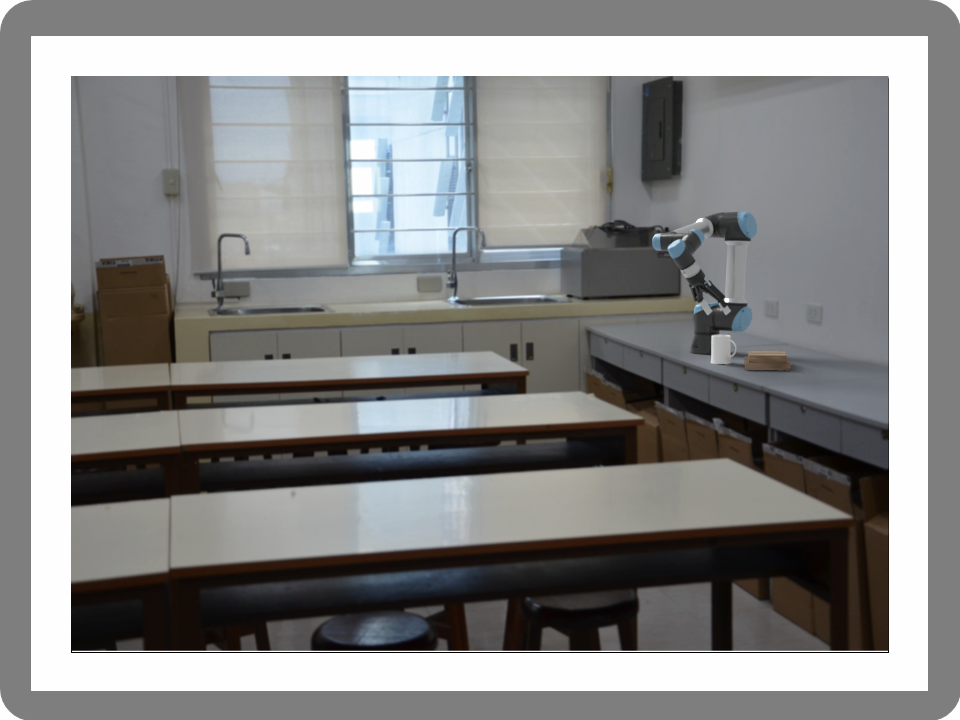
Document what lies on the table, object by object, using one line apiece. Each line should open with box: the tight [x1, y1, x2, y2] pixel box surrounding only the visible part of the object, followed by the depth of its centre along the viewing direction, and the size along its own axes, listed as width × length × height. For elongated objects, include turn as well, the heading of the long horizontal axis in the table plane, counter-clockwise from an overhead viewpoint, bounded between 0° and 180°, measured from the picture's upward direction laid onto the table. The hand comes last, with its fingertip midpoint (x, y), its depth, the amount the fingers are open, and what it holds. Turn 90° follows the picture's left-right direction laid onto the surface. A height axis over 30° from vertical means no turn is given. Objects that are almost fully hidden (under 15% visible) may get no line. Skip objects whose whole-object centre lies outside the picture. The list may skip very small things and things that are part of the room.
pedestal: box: [743, 349, 792, 372], centre depth 400 cm, size 19×18×6 cm
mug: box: [710, 334, 738, 365], centre depth 413 cm, size 12×8×12 cm
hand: (718, 313), depth 409 cm, fingers open, 13 cm apart
